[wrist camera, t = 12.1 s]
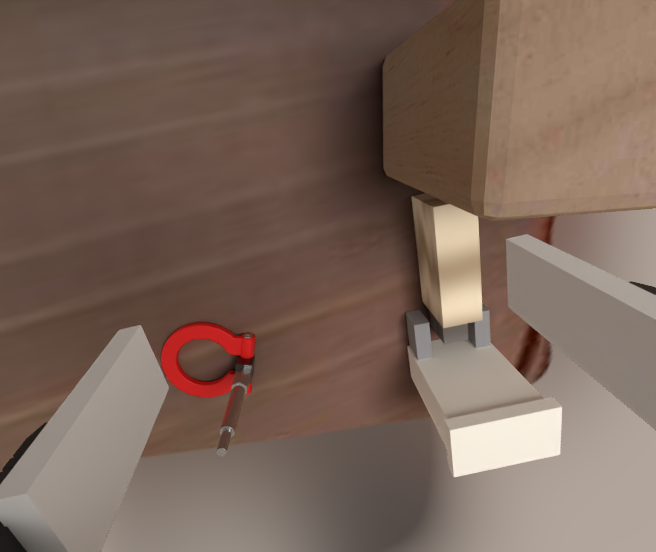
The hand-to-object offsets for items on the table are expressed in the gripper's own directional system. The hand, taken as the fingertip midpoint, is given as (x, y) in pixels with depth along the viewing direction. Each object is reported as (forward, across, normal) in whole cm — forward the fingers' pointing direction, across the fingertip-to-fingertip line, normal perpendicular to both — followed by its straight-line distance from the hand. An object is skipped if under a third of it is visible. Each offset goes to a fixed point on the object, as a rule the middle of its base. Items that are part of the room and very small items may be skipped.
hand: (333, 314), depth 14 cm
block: (+24, +13, +4) cm, 28 cm away
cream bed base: (+23, +11, -18) cm, 32 cm away
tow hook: (+24, -13, -14) cm, 31 cm away
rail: (+23, +12, -9) cm, 28 cm away
